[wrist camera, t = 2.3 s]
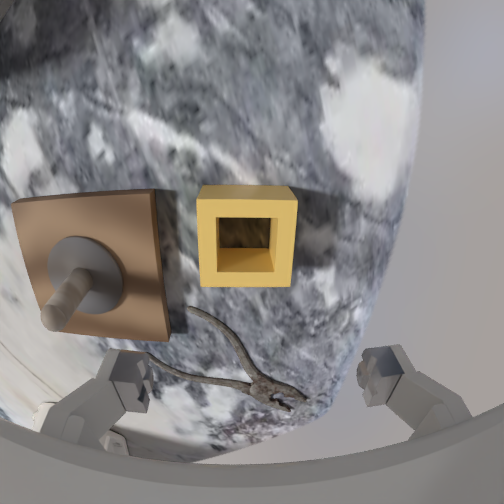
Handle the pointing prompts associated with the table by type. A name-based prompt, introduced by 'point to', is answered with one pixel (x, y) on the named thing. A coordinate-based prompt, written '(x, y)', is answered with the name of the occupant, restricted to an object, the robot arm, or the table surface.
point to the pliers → (261, 383)
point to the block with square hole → (246, 259)
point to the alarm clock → (4, 7)
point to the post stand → (95, 263)
